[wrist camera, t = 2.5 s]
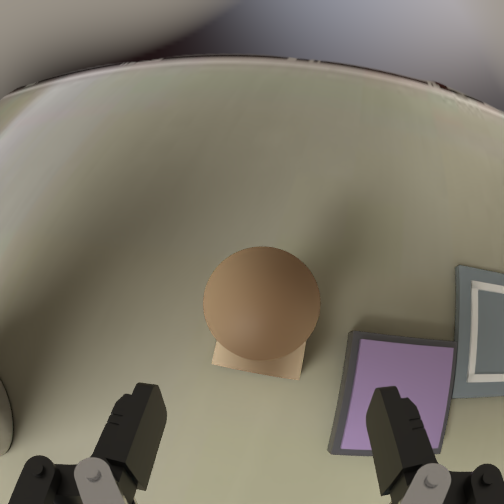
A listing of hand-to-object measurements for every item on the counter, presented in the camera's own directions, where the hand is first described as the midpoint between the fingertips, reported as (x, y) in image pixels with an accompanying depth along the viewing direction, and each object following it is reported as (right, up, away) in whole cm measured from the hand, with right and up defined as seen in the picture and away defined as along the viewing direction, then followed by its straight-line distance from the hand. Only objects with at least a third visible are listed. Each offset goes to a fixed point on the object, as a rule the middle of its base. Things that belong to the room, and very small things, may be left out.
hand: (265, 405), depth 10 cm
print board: (+19, -1, +8) cm, 21 cm away
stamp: (0, 0, +9) cm, 9 cm away
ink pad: (+9, -4, +7) cm, 12 cm away
